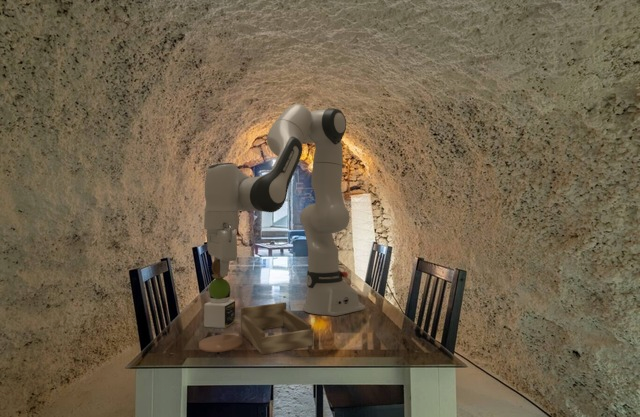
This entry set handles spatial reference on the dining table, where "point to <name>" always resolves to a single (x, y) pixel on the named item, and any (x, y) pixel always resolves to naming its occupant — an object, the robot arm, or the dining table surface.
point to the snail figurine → (218, 283)
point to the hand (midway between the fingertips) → (221, 274)
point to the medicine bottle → (219, 312)
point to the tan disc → (220, 343)
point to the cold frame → (270, 318)
